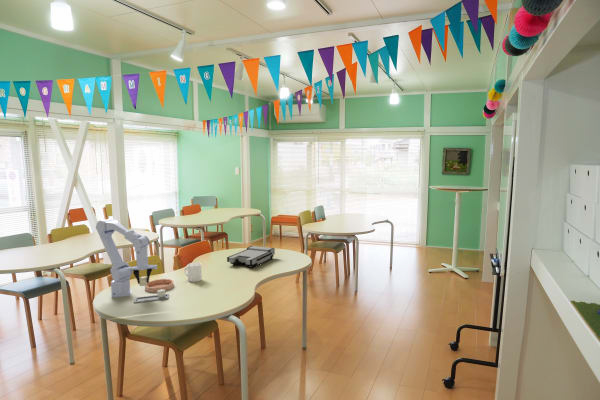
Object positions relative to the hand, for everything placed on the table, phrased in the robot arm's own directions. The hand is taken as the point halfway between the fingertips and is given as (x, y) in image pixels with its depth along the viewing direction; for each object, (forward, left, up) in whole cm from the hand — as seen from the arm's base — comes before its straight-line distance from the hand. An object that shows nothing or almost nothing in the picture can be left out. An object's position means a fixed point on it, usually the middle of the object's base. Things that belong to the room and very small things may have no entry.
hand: (143, 282), depth 202 cm
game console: (+69, +51, -9) cm, 86 cm away
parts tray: (+4, -5, -9) cm, 11 cm away
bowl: (+7, +13, -9) cm, 17 cm away
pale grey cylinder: (+9, -5, -8) cm, 13 cm away
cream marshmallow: (0, 0, -1) cm, 1 cm away
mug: (+26, +23, -9) cm, 36 cm away
